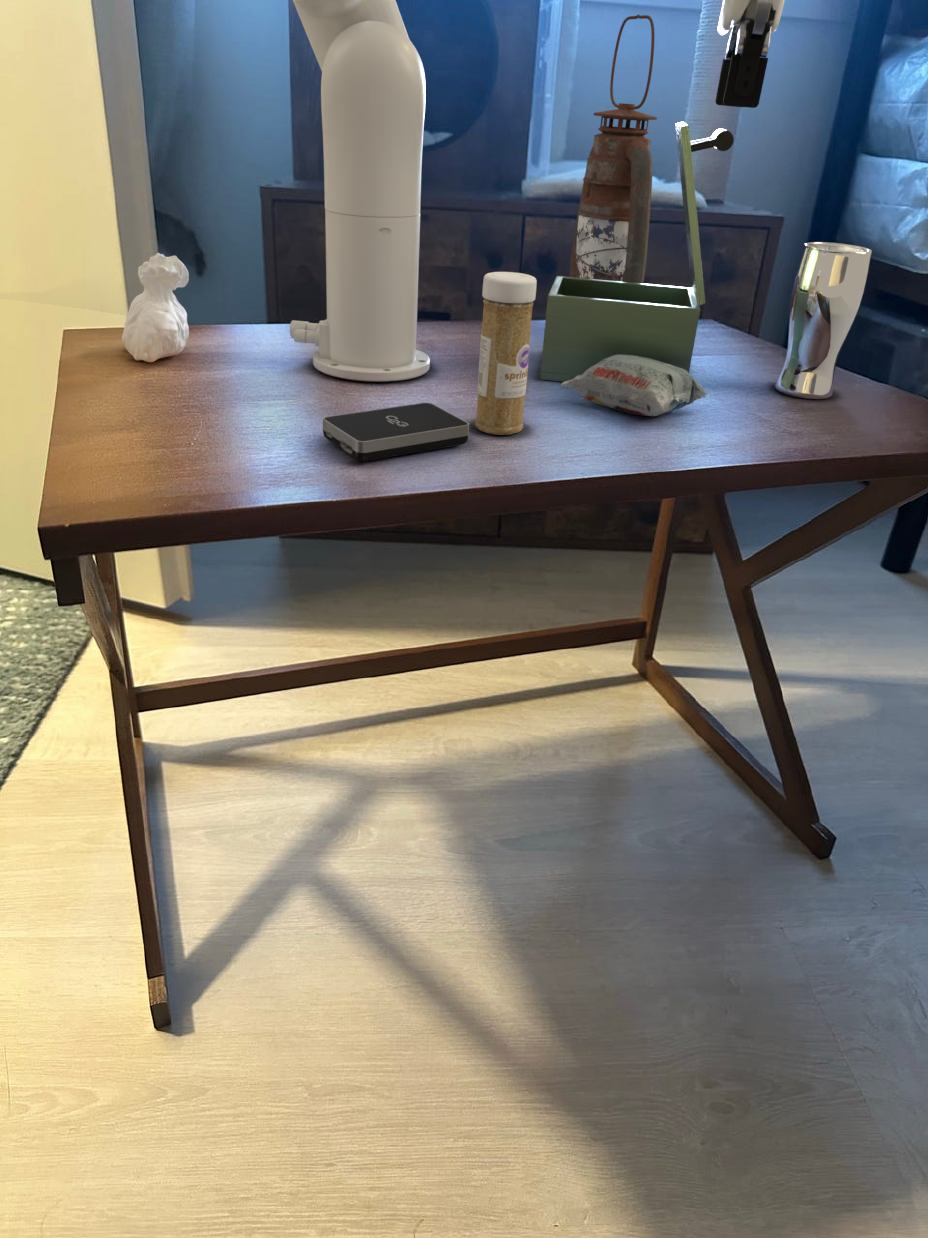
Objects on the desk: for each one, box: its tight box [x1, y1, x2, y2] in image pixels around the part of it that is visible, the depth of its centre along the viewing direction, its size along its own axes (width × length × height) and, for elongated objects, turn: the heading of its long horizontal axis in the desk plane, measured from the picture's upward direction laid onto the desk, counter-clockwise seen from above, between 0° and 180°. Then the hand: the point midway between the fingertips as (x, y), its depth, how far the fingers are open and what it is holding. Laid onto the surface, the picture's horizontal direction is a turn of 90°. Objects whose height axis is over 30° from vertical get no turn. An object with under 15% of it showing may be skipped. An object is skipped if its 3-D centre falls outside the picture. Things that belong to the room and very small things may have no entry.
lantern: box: [569, 13, 658, 284], centre depth 111 cm, size 11×16×35 cm
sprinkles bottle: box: [474, 271, 538, 436], centre depth 82 cm, size 5×5×13 cm
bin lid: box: [675, 121, 735, 306], centre depth 95 cm, size 16×12×5 cm
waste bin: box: [539, 275, 701, 383], centre depth 102 cm, size 16×12×9 cm
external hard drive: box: [322, 402, 470, 462], centre depth 79 cm, size 7×11×2 cm, turn 124°
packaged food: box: [560, 354, 708, 417], centre depth 91 cm, size 9×12×5 cm
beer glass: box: [775, 241, 873, 400], centre depth 99 cm, size 7×7×15 cm
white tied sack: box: [121, 252, 190, 363], centre depth 98 cm, size 12×8×11 cm
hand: (735, 106), depth 90 cm, fingers open, 9 cm apart
